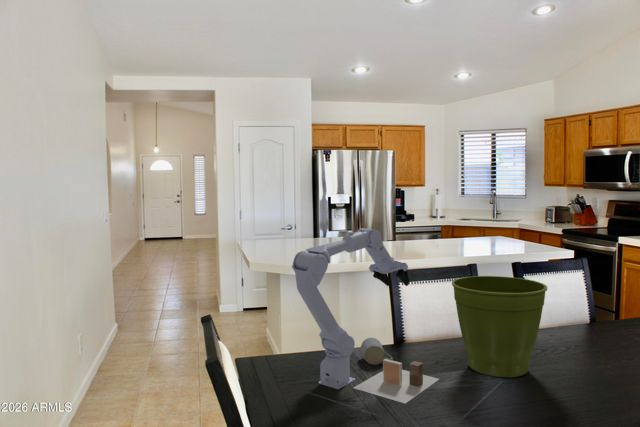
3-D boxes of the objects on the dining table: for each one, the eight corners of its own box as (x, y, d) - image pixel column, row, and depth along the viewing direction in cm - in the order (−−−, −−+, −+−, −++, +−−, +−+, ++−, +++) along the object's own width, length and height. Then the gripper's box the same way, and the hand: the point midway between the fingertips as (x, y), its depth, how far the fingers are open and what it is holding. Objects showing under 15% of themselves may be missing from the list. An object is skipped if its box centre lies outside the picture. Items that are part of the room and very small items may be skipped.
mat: (405, 404, 140) (405, 403, 140) (352, 389, 151) (352, 387, 151) (439, 380, 157) (439, 378, 157) (390, 367, 168) (390, 366, 168)
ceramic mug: (364, 366, 170) (364, 344, 169) (360, 358, 178) (360, 337, 177) (395, 366, 171) (395, 344, 170) (389, 357, 179) (389, 336, 178)
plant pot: (551, 391, 148) (552, 295, 146) (448, 379, 157) (448, 290, 156) (541, 357, 176) (542, 277, 174) (454, 349, 185) (454, 273, 184)
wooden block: (418, 386, 151) (418, 365, 151) (409, 384, 153) (409, 363, 153) (422, 383, 154) (422, 363, 153) (414, 381, 156) (414, 361, 155)
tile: (400, 386, 152) (399, 364, 151) (383, 382, 155) (383, 360, 155) (402, 385, 153) (402, 363, 152) (385, 380, 156) (385, 358, 156)
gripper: (403, 246, 165) (420, 274, 171) (368, 249, 175) (385, 275, 181) (396, 262, 161) (413, 290, 167) (360, 264, 171) (378, 290, 177)
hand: (398, 283), depth 174 cm, fingers open, 7 cm apart
